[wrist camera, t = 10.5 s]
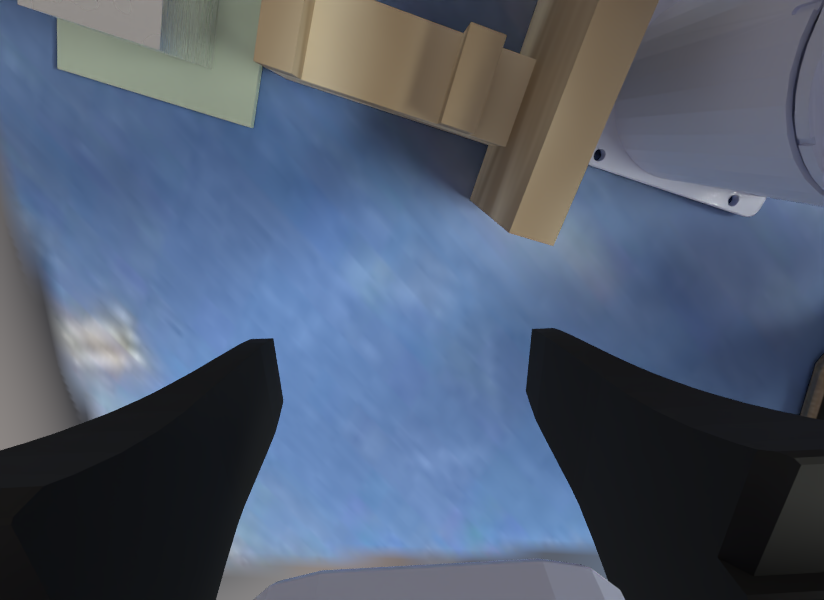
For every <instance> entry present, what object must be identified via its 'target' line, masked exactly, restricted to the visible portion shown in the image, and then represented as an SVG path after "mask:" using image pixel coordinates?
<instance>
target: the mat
mask: <svg viewBox="0 0 824 600" xmlns="http://www.w3.org/2000/svg"><path fill="white" fill-rule="evenodd" d="M261 1H262V0H220V3H219V12H218V21H217V30H216V40H215V49H214V58H213V68H212V69H209V68H206V67H203V66H200V65H197V64H193V63H190V62H187V61H184V60H181V59H178V58H175V57H172V56H169V55H165V54H162V53H159V52H156V51H153V50H150V49H147V48H144V47H141V46H138V45H134V44H131V43H128V42H125V41H122V40H119V39H116V38H113V37H110V36H106V35H104V34H101V33H98V32H95V31H92V30H89V29H86V28H84V27H81V26H78V25H75V24H72V23H69V22H67V21H64V20H61V19H58V18H57V69H60V70H64V71H67V72H70V73H74V74H77V75H80V76H83V77H87V78H90V79H93V80H96V81H100V82H103V83H106V84H109V85H113V86H116V87H119V88H122V89H126V90H129V91H132V92H136V93H139V94H142V95H145V96H149V97H152V98H155V99H158V100H162V101H165V102H168V103H171V104H175V105H178V106H181V107H184V108H188V109H191V110H194V111H197V112H201V113H204V114H207V115H211V116H214V117H217V118H220V119H224V120H227V121H230V122H233V123H237V124H240V125H243V126H246V127H250V128H254V121H255V114H256V108H257V101H258V94H259V87H260V80H261V74H262V67H263V66H262V65H260V64H258V63H256V62H254V61H253V58H254V51H255V44H256V37H257V30H258V22H259V15H260V8H261Z"/></svg>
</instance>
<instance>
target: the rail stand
mask: <svg viewBox="0 0 824 600" xmlns="http://www.w3.org/2000/svg"><path fill="white" fill-rule="evenodd" d="M658 1H659V0H538V2H537V5H536V7H535V10H534V13H533V16H532V19H531V22H530V25H529V28H528V31H527V34H526V37H525V40H524V43H523V46H522V48H521V51H520V54H519V53H516V52H514V51H511V50H508V49H506V48H503V46H504V43H505V40H506V37H507V35H505V34H503V33H500V32H497V31H495V30H492V29H489V28H487V27H484V26H481V25H479V24H476V23H473V22H471V23H470V24H469V26H468V27H467V28H466V30H465V31H464V33H462V32H459V31H456V30H454V29H451V28H448V27H446V26H443V25H440V24H437V23H435V22H432V21H429V20H426V19H424V18H421V17H418V16H416V15H413V14H410V13H407V12H405V11H402V10H399V9H396V8H394V7H391V6H388V5H386V4H383V3H380V2H377V1H375V0H262V1H261V8H260V15H259V22H258V30H257V37H256V44H255V51H254V58H253V61H254V62H256V63H258V64H260V65H262V66H264V67H265V68H267V69H269V70H271V71H273V72H275V73H277V74H278V75H280V76H282V77H284V78H286V79H288V80H291V81H294V82H297V83H300V84H303V85H306V86H309V87H312V88H315V89H318V90H321V91H324V92H327V93H331V94H334V95H337V96H340V97H343V98H346V99H349V100H352V101H355V102H358V103H361V104H364V105H367V106H370V107H373V108H376V109H379V110H382V111H385V112H389V113H392V114H395V115H398V116H401V117H404V118H407V119H410V120H413V121H416V122H419V123H422V124H425V125H428V126H431V127H434V128H437V129H440V130H443V131H447V132H450V133H453V134H456V135H459V136H462V137H465V138H468V139H471V140H474V141H477V142H480V143H483V144H486V145H488V148H487V151H486V154H485V157H484V160H483V163H482V166H481V168H480V171H479V174H478V177H477V180H476V183H475V186H474V189H473V192H472V195H471V198H470V201H471V202H473V203H474V204H475V205H476V206H477V207H479V208H480V209H481V210H482V211H483V212H485V213H486V214H487V215H488V216H489V217H491V218H492V219H493V220H494V221H495V222H497V223H498V224H499V225H500V226H501V227H503V228H504V229H505V230H506V231H507V232H509V233H511V234H515V235H518V236H521V237H525V238H528V239H531V240H535V241H538V242H542V243H545V244H548V245H552V246H553V245H554V243H555V241H556V239H557V236H558V234H559V232H560V229H561V227H562V225H563V222H564V220H565V218H566V215H567V213H568V211H569V208H570V206H571V204H572V201H573V199H574V197H575V194H576V192H577V190H578V187H579V185H580V183H581V180H582V178H583V176H584V173H585V171H586V169H587V166H588V164H589V162H590V159H591V157H592V155H593V153H594V150H595V148H596V146H597V143H598V141H599V139H600V136H601V134H602V132H603V129H604V127H605V125H606V122H607V120H608V118H609V115H610V113H611V111H612V108H613V106H614V104H615V101H616V99H617V97H618V94H619V92H620V90H621V87H622V85H623V83H624V80H625V78H626V76H627V73H628V71H629V69H630V67H631V64H632V62H633V60H634V57H635V55H636V53H637V50H638V48H639V46H640V43H641V41H642V39H643V36H644V34H645V32H646V29H647V27H648V25H649V22H650V20H651V18H652V15H653V13H654V11H655V8H656V6H657V4H658Z"/></svg>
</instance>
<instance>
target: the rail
mask: <svg viewBox="0 0 824 600" xmlns="http://www.w3.org/2000/svg"><path fill="white" fill-rule="evenodd" d="M219 3H220V0H18V5H21V6H24V7H27V8H30V9H32V10H35V11H38V12H41V13H44V14H47V15H49V16H52V17H55V18H58V19H61V20H64V21H67V22H69V23H72V24H75V25H78V26H81V27H84V28H86V29H89V30H92V31H95V32H98V33H101V34H104V35H106V36H110V37H113V38H116V39H119V40H122V41H125V42H128V43H131V44H134V45H138V46H141V47H144V48H147V49H150V50H153V51H156V52H159V53H162V54H165V55H169V56H172V57H175V58H178V59H181V60H184V61H187V62H190V63H193V64H197V65H200V66H203V67H206V68H209V69H212V68H213V58H214V49H215V40H216V30H217V21H218V12H219Z"/></svg>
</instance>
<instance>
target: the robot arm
mask: <svg viewBox="0 0 824 600" xmlns="http://www.w3.org/2000/svg"><path fill="white" fill-rule="evenodd" d="M598 149H599V150H600V151H601V157H600V158H599V159H598V160H597V161H596V160H595V159H594V153H595V151H596V150H598ZM594 153H593V155H592V157H591V159H590V162H589V164H588V165H590V166H593V167H596V168H599V169H602V170H605V171H608V172H611V173H614V174H617V175H620V176H623V177H626V178H629V179H632V180H635V181H638V182H641V183H644V184H647V185H650V186H653V187H656V188H659V189H662V190H665V191H668V192H671V193H674V194H677V195H680V196H683V197H686V198H689V199H692V200H695V201H698V202H701V203H704V204H707V205H710V206H713V207H716V208H719V209H722V210H725V211H728V212H731V213H734V214H737V215H740V216H744V217H750V216H753V215H755V214H756V213H757V212H758V211H759V210H760V208H761V206H762V205H763V203H764V201H765V200H766V198H773V199H779V200H785V201H791V202H797V203H803V204H809V205H815V206H821V207H824V0H659V1H658V4H657V6H656V8H655V11H654V13H653V15H652V18H651V20H650V22H649V25H648V27H647V29H646V32H645V34H644V36H643V39H642V41H641V43H640V46H639V48H638V50H637V53H636V55H635V57H634V60H633V62H632V64H631V67H630V69H629V71H628V73H627V76H626V78H625V80H624V83H623V85H622V87H621V90H620V92H619V94H618V97H617V99H616V101H615V104H614V106H613V108H612V111H611V113H610V115H609V118H608V120H607V122H606V125H605V127H604V129H603V132H602V134H601V136H600V139H599V141H598V143H597V146H596V148H595V150H594ZM731 196H733V199H732V201H731V202H730V203H729V204H728V200H729V198H730V197H731ZM526 393H527V396H528V399H529V402H530V405H531V408H532V411H533V413H534V416H535V419H536V421H537V423H538V425H539V427H540V429H541V431H542V433H543V435H544V437H545V439H546V441H547V443H548V445H549V447H550V449H551V451H552V452H553V454H554V456H555V458H556V460H557V462H558V464H559V466H560V468H561V470H562V472H563V473H564V475H565V477H566V479H567V481H568V483H569V485H570V487H571V489H572V491H573V493H574V495H575V497H576V499H577V501H578V503H579V506H580V508H581V511H582V513H583V516H584V518H585V521H586V523H587V526H588V528H589V531H590V533H591V536H592V538H593V541H594V543H595V546H596V549H597V552H598V554H599V557H600V560H601V562H602V565H603V567H604V570H605V573H606V576H607V579H608V580H606V579H605V578H604V577H602V576H601V575H600V574H598V573H597V572H595V571H594V570H593V569H591V568H590V567H587V566H584V565H581V564H574V563H567V562H559V561H552V560H545V559H522V560H504V561H486V562H468V563H450V564H432V565H413V566H395V567H377V568H359V569H341V570H324V571H318V572H314V573H310V574H306V575H302V576H298V577H294V578H289V579H285V580H281V581H278V582H276V583H274V584H272V585H270V586H269V587H268V588H266V589H265V590H264V591H263V592H261V593H260V594H259V595H258V596H257V597H255V598H254V599H253V600H824V420H820V419H814V418H809V417H805V416H800V415H795V414H790V413H786V412H781V411H776V410H772V409H768V408H763V407H759V406H755V405H751V404H747V403H743V402H740V401H736V400H732V399H729V398H725V397H722V396H718V395H714V394H711V393H708V392H705V391H701V390H698V389H695V388H692V387H689V386H686V385H684V384H681V383H678V382H675V381H672V380H669V379H667V378H664V377H661V376H659V375H656V374H654V373H651V372H649V371H647V370H644V369H642V368H640V367H637V366H635V365H633V364H630V363H628V362H626V361H624V360H621V359H619V358H617V357H615V356H613V355H611V354H609V353H607V352H605V351H602V350H600V349H598V348H596V347H594V346H592V345H590V344H588V343H586V342H584V341H582V340H580V339H578V338H576V337H574V336H572V335H570V334H567V333H565V332H563V331H560V330H558V329H555V328H546V329H532V335H531V345H530V355H529V365H528V375H527V385H526ZM282 405H283V396H282V390H281V383H280V377H279V371H278V365H277V359H276V353H275V346H274V340H273V338H271V339H250V340H248V341H246V342H243V343H241V344H240V345H238V346H236V347H234V348H232V349H231V350H229V351H227V352H226V353H224V354H222V355H221V356H219V357H217V358H215V359H214V360H212V361H210V362H209V363H207V364H205V365H204V366H202V367H200V368H199V369H197V370H195V371H193V372H192V373H190V374H188V375H186V376H184V377H182V378H180V379H179V380H177V381H175V382H173V383H171V384H169V385H168V386H166V387H164V388H162V389H160V390H158V391H156V392H154V393H152V394H150V395H148V396H146V397H144V398H142V399H140V400H138V401H135V402H133V403H131V404H129V405H126V406H124V407H122V408H120V409H117V410H115V411H113V412H110V413H108V414H105V415H103V416H100V417H98V418H95V419H92V420H90V421H87V422H84V423H82V424H79V425H76V426H74V427H71V428H68V429H66V430H63V431H60V432H58V433H55V434H52V435H49V436H46V437H43V438H40V439H37V440H33V441H30V442H27V443H24V444H20V445H17V446H14V447H11V448H7V449H4V450H1V451H0V600H216V597H217V593H218V590H219V586H220V582H221V579H222V576H223V572H224V568H225V565H226V561H227V558H228V555H229V552H230V548H231V545H232V542H233V538H234V535H235V532H236V529H237V525H238V522H239V519H240V517H241V514H242V511H243V509H244V506H245V504H246V501H247V499H248V496H249V494H250V492H251V489H252V487H253V485H254V482H255V480H256V478H257V475H258V473H259V471H260V468H261V466H262V463H263V461H264V459H265V456H266V454H267V452H268V449H269V447H270V444H271V442H272V439H273V437H274V434H275V432H276V428H277V424H278V421H279V417H280V413H281V409H282Z"/></svg>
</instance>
